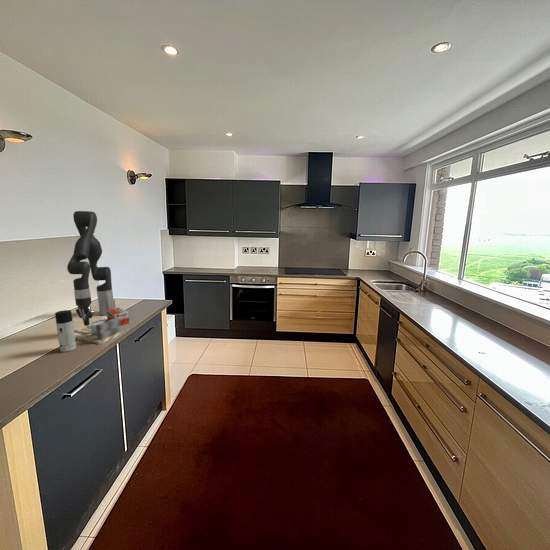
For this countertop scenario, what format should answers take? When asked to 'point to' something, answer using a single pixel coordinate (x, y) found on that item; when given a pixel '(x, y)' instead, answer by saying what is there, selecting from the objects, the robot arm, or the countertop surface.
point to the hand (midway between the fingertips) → (86, 325)
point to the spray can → (65, 330)
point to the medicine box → (118, 315)
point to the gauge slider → (94, 327)
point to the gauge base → (100, 332)
